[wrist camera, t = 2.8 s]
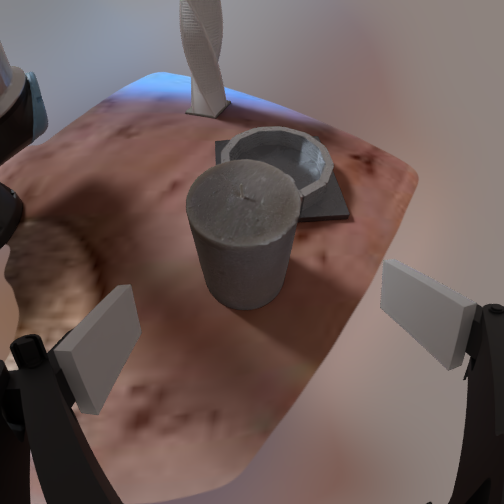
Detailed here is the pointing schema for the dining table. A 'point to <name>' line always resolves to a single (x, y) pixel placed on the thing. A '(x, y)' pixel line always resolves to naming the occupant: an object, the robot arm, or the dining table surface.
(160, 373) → the dining table surface
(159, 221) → the dining table surface
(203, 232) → the pillar candle
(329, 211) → the duct collar
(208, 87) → the skyscraper
